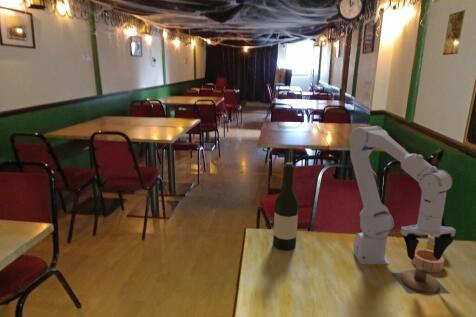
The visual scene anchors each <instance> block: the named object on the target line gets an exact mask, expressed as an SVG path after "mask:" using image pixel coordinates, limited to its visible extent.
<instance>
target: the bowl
mask: <svg viewBox="0 0 476 317" xmlns="http://www.w3.org/2000/svg"><path fill="white" fill-rule="evenodd" d="M433 252H434V251H433V250H429V249H426V248H423V247H422V248H418V247H416V250H415V256H414V259H413V260H411V259H410V262H411V264H412V265H413V266H415V267H416V266H422V267H425V268H426V269H427V272H428V273H440V272H442V270H444V265H445V256H443V255H442V256H441V258H440V260H437V259H436V258H435V257H434V256H433Z"/></svg>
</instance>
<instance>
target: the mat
mask: <svg viewBox="0 0 476 317" xmlns="http://www.w3.org/2000/svg"><path fill="white" fill-rule="evenodd" d="M401 273H402V272H391V275H392V276H393V277H394V278H395V280H396V281H397V282H398V283H399V284H400V285H401V287H402V288H403V289H404V290H405V292H406V293H407V294H424V293H423V292H419V291H416V290H413V289H411V288H409V287H407V286H406V285H405V284H404V283H403V282H402V281H401ZM427 274H429V275H431V276H433V275H432V274H431V272H427ZM433 294H451V293H450V291H449V290H448V289H447V288H445V286H444V285H442V284H441V282H439V289H438V291H436V292H434V293H433Z"/></svg>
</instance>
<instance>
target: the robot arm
mask: <svg viewBox="0 0 476 317" xmlns="http://www.w3.org/2000/svg"><path fill="white" fill-rule="evenodd" d="M348 143H349V146H350V148H349V149H350V150H349V156H350V160H351V164H352V167H353V171H354V175H355V179H356V183H357V187H358V190H359V195H360V197H361V198H360V199H361V201H362V205H363V207H362V210H361V211H360V212H359V219H360V222H359V226H360V229H361V231H362V232H358V233H356V234H355V236H354V243H353V250H352V253H353V255H354V256H355V258H356V259H357V261H358V263H359V264H361V265H390V262H389V261H388V259H387V258H386V257H385V256H386V250H387V243H388V236H389V234H390V231H391V230H392V229H393V228H394V226H395V221H394V218H393V216H392V214H390V211H389V208H388V207H387V206H386V205H385V204H383V203H382V201H381V198H380V194H379V190H378V186H377V182H376V179H375V175H374V171H373V167H372V164H371V161H370V155H371V154H372V152H373V151H374V150H375V149H376V148H380V149H381V150H382V151H384V152H385V153H387V154H388V155H389V156H391V157H393V158H394V159H395V160H397V161H398V162H400V168H401V169H402V170H403V172H405V173H407V174H408V175H409V177H411V178H412V179H414V180H415V181H416V182H418V185H419V187H420V189H421V197H420V205H419V210H418V218H417V223H416V224H412V225H408V226H407V225H406V226H401V228H400V234H401V235H402V238H403V240H404V243H405V246H406V252H407V253H406V254H407V257H408V258H409V259H410V261H411V260H413V259H414V256H415V250H416V249H417V248H418V244H419V243H420V240H419V239H418V238H417V236H428V235H431V236H432V237H435V245H434V252H433V256H434V257H435V258H436V259H437V260H440V258H441V256H443V254H444V253H445V251H446V249H447V248H448V247H449V246H450V245H451V244H452V243H453V242H454V238H453V237H455V235H456V229H455V228H453V227H452V226H443V225H442V223H443V217H444V216H443V215H444V211H445V204H446V198H447V191H448V190H450V189H451V188H452V186H453V178H452V176H451V174H449V173H448V171H446V170H444V169H438V167H437V166H435V165H432V164H430V163H429V162H428V161H427V160H425V159H424V156H423V155H422V154H420V153H419V154H417V153H415V152H414V153H409V152H408V151H407V150H406V149H405V148H404V147H402V146H401V145H400V144H399V143H398V142H397V141H396V140H395V139H393V137H392V136H390V135H389V133H388V131H386V130H385V129H383V128H382V127H381V126H379V125H372V126H362V127H361V126H357V127H354V128H353V129H352V130H351V132H350V133H349V136H348Z"/></svg>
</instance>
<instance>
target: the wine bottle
mask: <svg viewBox="0 0 476 317" xmlns="http://www.w3.org/2000/svg"><path fill="white" fill-rule="evenodd" d="M294 172H295V165H294V163H293V162H285V164H284V166H283V178H282V180H283V181H282V189H281V191H280V193H279V194H278V196H277V197H276V199H275V200H274V213H273V214H274V217H273V218H274V219H273V232H272V233H273V236H272V247H274V248H276V249H277V250H279V251H286V252H287V251H292V250H295V249H296V245H297V233H298V217H299V204H300V202H299V201H300V200H299V198H298V196H297V195H296V193H295V191H294V190H293V188H294V185H293V184H294Z"/></svg>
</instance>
